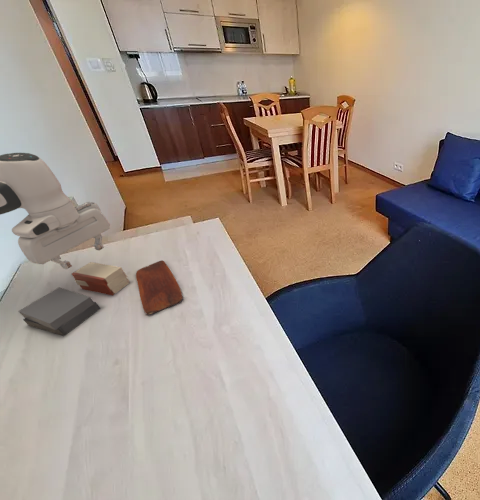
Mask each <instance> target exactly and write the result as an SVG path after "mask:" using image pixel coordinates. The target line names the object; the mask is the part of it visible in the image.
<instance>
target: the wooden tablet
mask: <svg viewBox="0 0 480 500" xmlns="http://www.w3.org/2000/svg"><path fill="white" fill-rule="evenodd" d="M135 280H136V283H137V287H138V293H139V298H140V302H141V306H142V309H143V311H144V313H145V314H146V315H148V316H149V315H153V314H155V313H158V312H160V311H162V310H164V309H167V308H170V307H172V306H174V305H176V304H179V303H180V302H181V301H183V293H182V289H181V287H180V285H179V283H178V281H177V279H176V277H175V275H174V274H173V272H172V271H171V269H170V267H169V265H167V263H166V262H165V261H164V260H158V261H156V262H153V263H151V264H149V265H147V266H144V267H142V268H140V269H138V270H137V271H136V272H135Z"/></svg>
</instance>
